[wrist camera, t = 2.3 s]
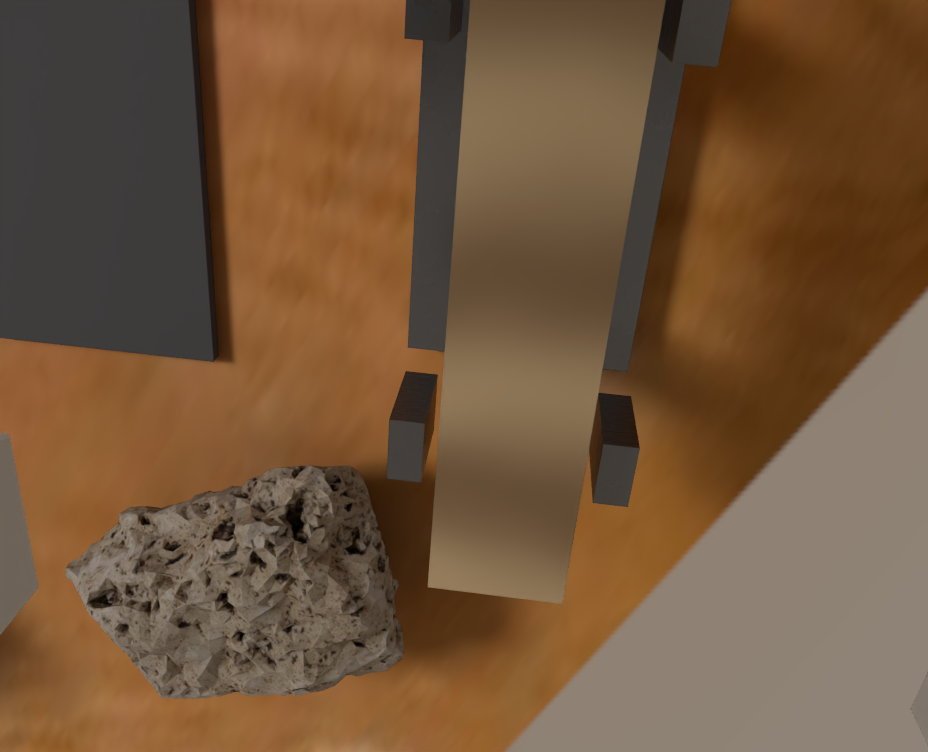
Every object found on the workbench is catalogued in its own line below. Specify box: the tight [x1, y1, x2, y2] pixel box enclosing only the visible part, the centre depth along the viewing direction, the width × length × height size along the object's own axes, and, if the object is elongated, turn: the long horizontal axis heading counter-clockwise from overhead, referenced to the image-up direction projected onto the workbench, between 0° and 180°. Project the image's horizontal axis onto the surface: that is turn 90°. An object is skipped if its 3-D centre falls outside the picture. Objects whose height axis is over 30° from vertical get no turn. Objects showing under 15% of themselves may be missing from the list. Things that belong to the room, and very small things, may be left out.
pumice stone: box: [66, 465, 404, 699], centre depth 38 cm, size 14×12×8 cm
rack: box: [387, 0, 731, 507], centre depth 26 cm, size 16×9×12 cm, turn 176°
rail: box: [428, 0, 666, 604], centre depth 22 cm, size 20×4×4 cm, turn 176°
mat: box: [0, 0, 218, 362], centre depth 31 cm, size 24×10×1 cm, turn 176°
